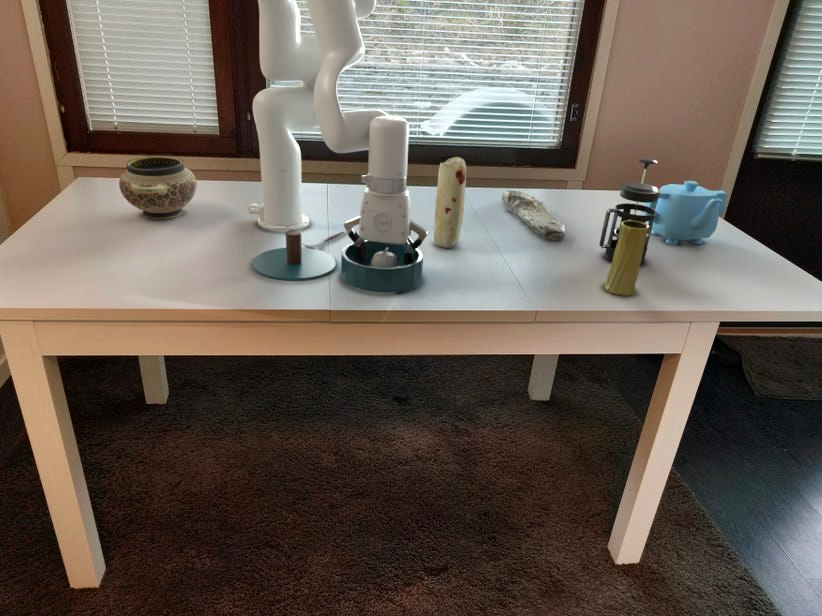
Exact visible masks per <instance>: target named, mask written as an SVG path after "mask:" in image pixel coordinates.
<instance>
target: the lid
mask: <svg viewBox="0 0 822 616" xmlns="http://www.w3.org/2000/svg"><path fill="white" fill-rule="evenodd" d="M251 261H252V262H251V267H252V269H253V271H254V272H256V273H257V274H258V275H261V276H263V277H265V278H267V279H268V278H269V279H272V280H278V281H288V282H289V281H290V282H298V281H300V282H301V281H310V280H314V279H319V278H322V277H324V276H327V275H329V274H330V273H333V271H334V270H335V269H336V267H337V261H336V259H335V257H334V256H332V255H331V254H329V253H328V252H326V251H323V250H319V249H317V248H316V249H313V248H309V247H303V243H302V232H301V231H300V230H299V229H297V230H289V231H285V247H279V248H273V249H270V250H269V249H268V250H266V251H264V252H261V253H259V254H257V255H256V256H255V257H254V258H253V259H252V260H251Z"/></svg>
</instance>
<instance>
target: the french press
mask: <svg viewBox="0 0 822 616" xmlns="http://www.w3.org/2000/svg"><path fill="white" fill-rule="evenodd" d="M636 162H638V163H641V164H643V169H644V170H643V174H642V179H641V182H634V181H633V182H630V181H629V182H623V183H620V184H619V188H620V193H619V196H620V197H621V198H622V199H624V200H627V201H631V202H634V203H627V202H625V203H619V204H616V205H615V206H614V208H607V209H606V211H605V216H604V220H603V225H602V230H601V235H600V239H599V243H598V244H599V245H598V246H599V247H601V249H605V251H604V253H603V259H604V260H605V261H606V262H608V263H610V264H612V261H613V257H614V253H615V249H616V246H617V242H618V238H619V233H620V228H621V224H622V222H623V221H626V220H633V221H640V222H643V223H646V224H647V221H649V224H648V226H649V228H648V231H647V236H646V240H645V245H644V249H643V254H642V259H641V263H640V267H642V266H644V265H645V264H646V256H647V253H648V245H649V241H650V237H651V234H652V233H651V232H652V231H653V230H652V226H653V222H654V219H655V217H656V213H657V212H656V210H654V209H653V208H650V207H647V206H644V205H645V203H651V202H655V201H657V199H658V196H659V194H661V193H662V189H660V188H661V187H658V186H656V185H654V184H649V183H644V182H645V181H644V180H645V176H646V171H647V170H648V169H649V166H650V165H657V164H658V161H657V160H655V159H652V158H638V159H637V160H636ZM635 202H636V203H635ZM639 203H644V205H643V204H639ZM622 210H623V211H622ZM632 210H634V212H633V213H631V211H632ZM637 211H639V212H642V211H643V212H647V213H649V214H651V215H645V214H644V215H642V214H636V213H637ZM643 212H642V213H643ZM611 213H613V217H612V222H611V226H610V231H609V236H608V240H607V242H606V244H605V240H606V235H607V230H608V226H609V221H610V217H611ZM618 217H619V218H620V223H619V226H617V227H616V225H617V221H618ZM614 237H615V238H616V239H614Z"/></svg>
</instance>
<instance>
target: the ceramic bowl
mask: <svg viewBox="0 0 822 616" xmlns="http://www.w3.org/2000/svg"><path fill="white" fill-rule="evenodd" d="M125 165H126V171H124V172H123V173H122V174H121V176H120V178H119V181H118V186H119V189H120V193H121V194H122V196H123V198H124V199H125V200H126V201H127V202H128V204H130V205H132V206H133V207H135V208H137V209H138V210H141V211H142V215H143V216H144V217H146V218H147V219H151V220H167V219H172V218H176V217H177V218H178V217H179V216H180V215H182V214H183V209H182V208H185V207H186V206H187V205H188V204H189V203H190V202H191V201H192V199H194V196H195V194H196V191H197V184H198V183H197V179H196V177H195V175H194V172H192V171H191V170H190V169H189V168H187V167H185V161H184V160H183V159H182V158H180V157H176V156H169V155H151V156H149V155H148V156H142V157H136V158H132V159H129V160H128V161H126V163H125Z"/></svg>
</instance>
